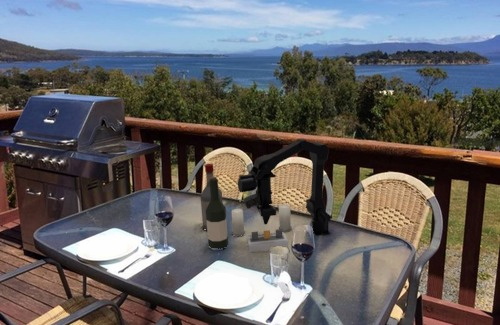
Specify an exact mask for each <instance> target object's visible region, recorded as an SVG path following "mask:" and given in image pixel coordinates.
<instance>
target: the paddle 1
mask: <svg viewBox="0 0 500 325" xmlns="http://www.w3.org/2000/svg"><path fill="white" fill-rule="evenodd" d="M251 235H252V240H258V235H259V232H258V230H257V231H252V232H251Z"/></svg>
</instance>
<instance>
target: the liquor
mask: <svg viewBox="0 0 500 325" xmlns="http://www.w3.org/2000/svg"><path fill="white" fill-rule="evenodd" d="M204 169H205V170H204V171H205V174H206V175H205V176H206V185H205V187H204V188H203V189H202V192H201V194H200V207H201V220H202V228H204V229H206V230H207V220H206V209H207V207H208V205H209V203H210V201H211V195H210V182H209V180H210V178H211V177H214V171H215V170H214V164H213V163H207V164H205V165H204ZM218 190H219V199H220V200H221V202H222V203H223V204H224V202H223V192H222V190H221V189H220V188H219V187H218ZM204 229H203V230H204ZM206 230H205V231H206Z"/></svg>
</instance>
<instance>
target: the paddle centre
mask: <svg viewBox="0 0 500 325" xmlns="http://www.w3.org/2000/svg"><path fill="white" fill-rule="evenodd" d="M270 233H271V231H270V229H269V230H267V229H266V230H263V234H264V239H269V238H270Z"/></svg>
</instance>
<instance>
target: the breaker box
mask: <svg viewBox="0 0 500 325" xmlns="http://www.w3.org/2000/svg"><path fill="white" fill-rule="evenodd" d="M247 244H248V245H247ZM246 245H247V247H248V252H249V251H250V252H249V253H257V252H258V251H259V252H267V251H268V250H269V249H270V248H271V247H276V246H282V247H287V248H288V249H289V248H290V246H289V240H288V238H287V236H286V233H285V232H282V237H279V238H276V232H272V233H271V232H270V238H269V239H264V233H261V234H259V233H258V240H252V234H251V235H246ZM269 251H270V250H269Z"/></svg>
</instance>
